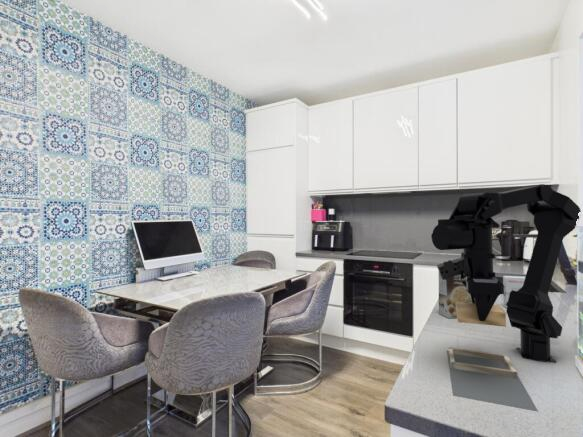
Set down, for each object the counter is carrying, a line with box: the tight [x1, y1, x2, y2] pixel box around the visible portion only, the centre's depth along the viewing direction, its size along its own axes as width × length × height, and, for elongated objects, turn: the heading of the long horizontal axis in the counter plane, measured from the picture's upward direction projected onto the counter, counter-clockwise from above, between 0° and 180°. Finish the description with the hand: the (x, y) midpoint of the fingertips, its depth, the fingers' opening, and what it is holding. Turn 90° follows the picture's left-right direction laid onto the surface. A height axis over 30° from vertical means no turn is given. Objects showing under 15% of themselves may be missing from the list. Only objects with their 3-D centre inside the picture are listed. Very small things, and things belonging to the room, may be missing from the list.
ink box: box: [502, 275, 526, 310], centre depth 117 cm, size 9×5×12 cm, turn 67°
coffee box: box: [438, 271, 472, 319], centre depth 109 cm, size 9×6×16 cm
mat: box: [446, 350, 539, 412], centre depth 66 cm, size 22×13×1 cm, turn 156°
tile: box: [456, 302, 507, 328], centre depth 71 cm, size 9×6×3 cm, turn 67°
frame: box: [448, 347, 518, 378], centre depth 71 cm, size 9×12×1 cm
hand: (479, 316), depth 71 cm, fingers closed on tile, 6 cm apart
